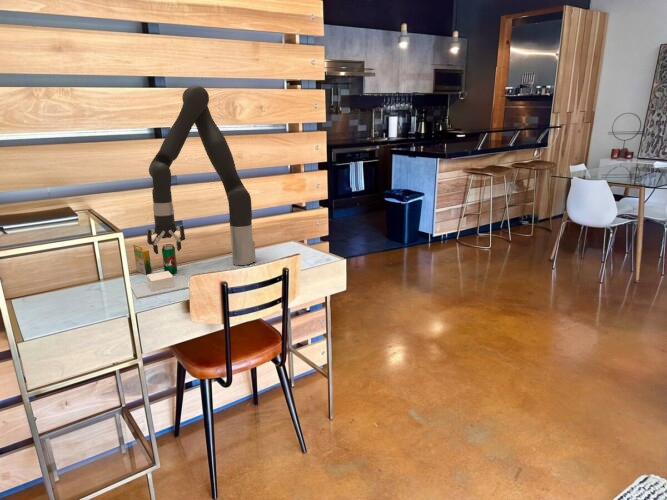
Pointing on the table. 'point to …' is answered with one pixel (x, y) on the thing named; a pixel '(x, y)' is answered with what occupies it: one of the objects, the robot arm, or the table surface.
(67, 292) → the table surface
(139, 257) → the crayon box
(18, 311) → the table surface
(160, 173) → the robot arm
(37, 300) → the table surface
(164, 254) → the soda can
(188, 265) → the table surface
